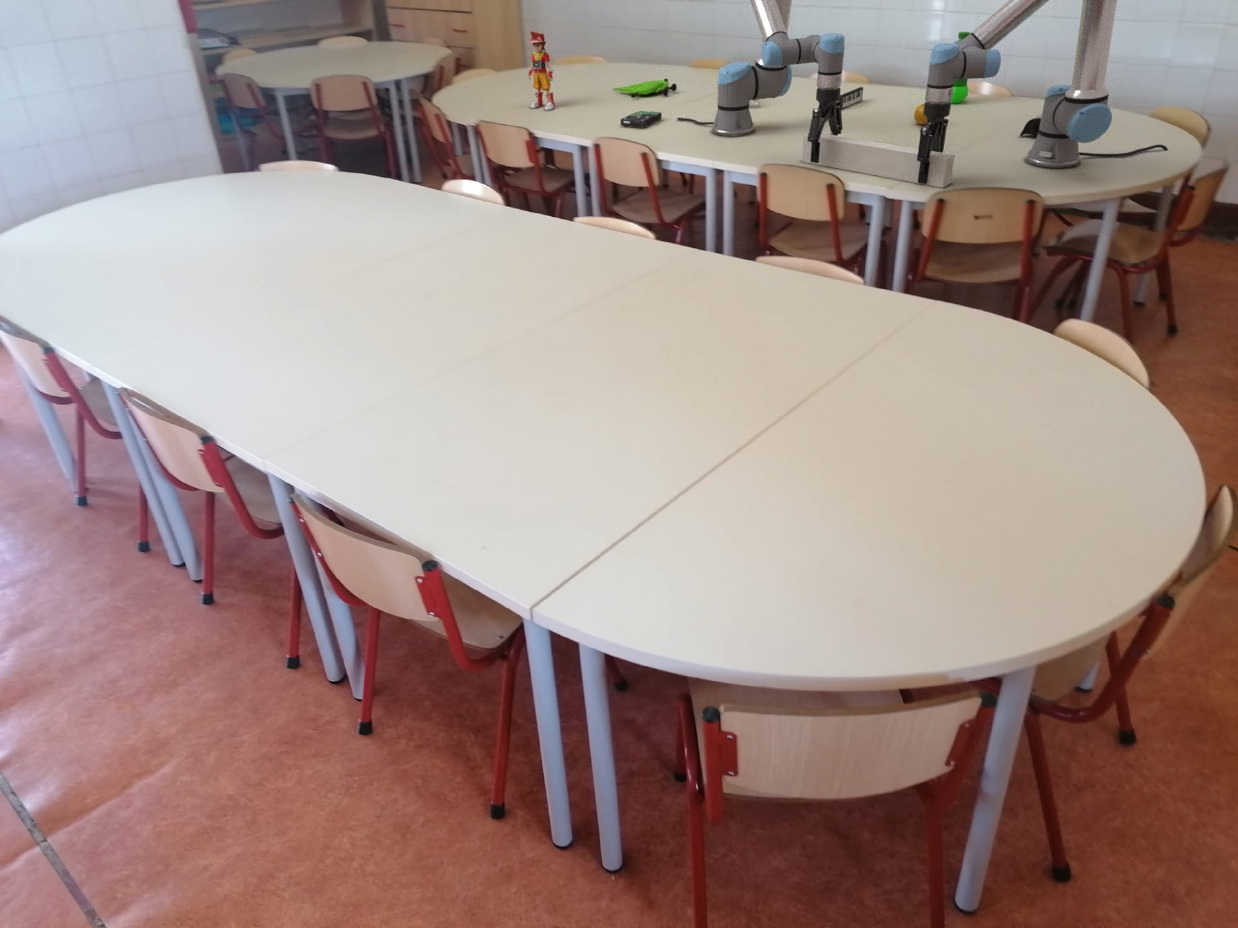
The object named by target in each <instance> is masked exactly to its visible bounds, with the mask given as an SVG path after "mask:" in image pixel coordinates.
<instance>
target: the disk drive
mask: <svg viewBox="0 0 1238 928" xmlns="http://www.w3.org/2000/svg"><path fill="white" fill-rule="evenodd" d="M661 119H663V118H662V112H659V111H652V110H651V111H645V110H638V111H636V112H633V113H631V114H629V115H627V116H624V117H622V118H620V126H622V127H628V128H629V127H630V128H640V129H644V128H645V127H648V126H650V125H652V124H654V123H656V122H658V121H660V120H661Z"/></svg>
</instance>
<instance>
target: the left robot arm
mask: <svg viewBox="0 0 1238 928" xmlns="http://www.w3.org/2000/svg"><path fill="white" fill-rule="evenodd" d="M749 1H750V4H751V8H752V10H753V13H754V16H755V19H756V22H757V25H758V28H759V31H760V34H761V37H762V39H761V47H760V54H758V55H757V56H756V57H755V61H754V62H755V63H754V65H751V63H750V62H749V61H735V62H731V63H727V64H724V65H723V66H722V67H720V68H719V70H718V75H717V82H716V83H717V111H716V114H715V118H714V120H713V121H698V120H697V119H693V118H687V117H677V119H676V120H677V121H686V122H687V121H688V122H691V123H695V124H697V125H701V126H703V125H704V126H705V125H712V133H713V134H715V135H717V136H721V137H741V136H746V135H750V134H752V133H754V127H755V121H753V118H752V115H751V111H750V106H749V101H750V100H753V101H756V100H766V99H776V98H780V97H783V96H784V95H786V94H787V93H788V92H789V90H790V88H791V85H792V81H793V74H792V73H793V70H792V65H793V66H795V65H801V64H802V65H804V64H812V63H815V64H818V65H817V67H818V68H817V77H816V78H817V79H816V87H817V89H816V93H815V100H816V101H817V102H818V107H817V108H813V109H812V113H811V121H810V125H809V130H808V133H809V135H808V141H809V142H811V143H812V144H811V160H810V162H814V163H819V152H820V142H819V139H820V136H821V133H823V130H824V127H825V124H826V123H827V122H828V126H829V129H830V133H829V134H830V135H836V136H839V135H841V134H842V131H843V117H842V116H843V115H842V109H841V105H842V102H841V101H839V100H840V95H841V91H842V89H841V88H840V87H841V86H842V80H843V78H842V76H843V65H844V57H845V40H846V39H845V36H844V34H842V33H837V32H831V33H824V34H821V35H819V34H809V35H807V36H806V37H801V38H789V35H788V32H789V24H790V17H791V11H792V10H791V9H792V4H793V3H792V2H793V0H749Z"/></svg>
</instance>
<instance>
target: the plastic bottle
mask: <svg viewBox="0 0 1238 928" xmlns="http://www.w3.org/2000/svg"><path fill="white" fill-rule="evenodd" d="M970 33H971V32H970V31H959V32H958V36H957V39H958V40H961V39H964V38H966V37H967V36H968V35H969V34H970ZM968 80H969V79H955V81H954V86H953V91H954V94H953V95H952V100H951V101H950V103H951V104H960V103H961V102H963V101H964V100H966V98H967V96H968V95H969V85H968Z"/></svg>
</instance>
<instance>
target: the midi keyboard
mask: <svg viewBox="0 0 1238 928" xmlns="http://www.w3.org/2000/svg"><path fill="white" fill-rule="evenodd" d="M863 95H864V86H860V87H857V88H855V89H851V90H850V91H847V92H845V93H842V94H840V100H839V101H841V102H842V105H841V110H842V109H844V108H846V107H849V106H851V105H853V104H855V103H858V102H860V101H863Z"/></svg>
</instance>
